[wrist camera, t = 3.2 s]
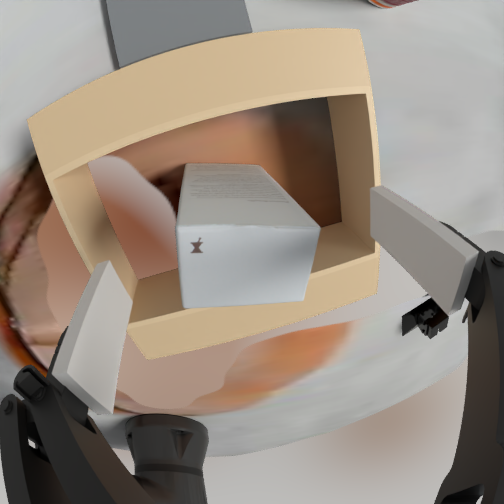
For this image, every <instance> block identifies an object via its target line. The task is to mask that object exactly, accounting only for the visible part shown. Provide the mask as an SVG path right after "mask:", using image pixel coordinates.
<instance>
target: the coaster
mask: <svg viewBox="0 0 504 504" xmlns="http://www.w3.org/2000/svg"><path fill="white" fill-rule="evenodd" d="M106 3H107V9H108V15H109V20H110V25H111V30H112V35H113V40H114V45H115V49H116V54H117V58H118V62H119V66H120V68H124V67H126V66H129V65H131V64H134V63H136V62H139V61H142V60H144V59H147V58H150V57H153V56H156V55H159V54H162V53H165V52H169V51H172V50H175V49H179V48H182V47H186V46H190V45H194V44H198V43H202V42H206V41H210V40H215V39H220V38H225V37H230V36H236V35H242V34H249V33H252V27H251V24H250V20H249V16H248V13H247V9H246V6H245V2H244V0H106Z"/></svg>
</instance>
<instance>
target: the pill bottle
mask: <svg viewBox="0 0 504 504" xmlns="http://www.w3.org/2000/svg"><path fill="white" fill-rule="evenodd" d="M368 1H369V2H370V3H372V4H374V5H376V6H378V7H380V8H385V9H388V8H392V7H396V6H399V5H402V4H406V3H409V2H413V1H417V0H368Z"/></svg>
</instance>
